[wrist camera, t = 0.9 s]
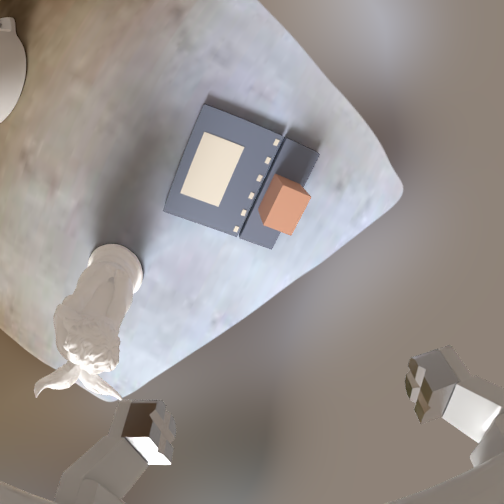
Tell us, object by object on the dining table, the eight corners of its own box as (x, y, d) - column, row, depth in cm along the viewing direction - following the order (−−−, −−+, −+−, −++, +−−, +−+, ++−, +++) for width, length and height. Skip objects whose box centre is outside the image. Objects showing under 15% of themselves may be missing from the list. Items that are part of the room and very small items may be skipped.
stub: (239, 234, 42) (242, 257, 37) (284, 136, 36) (296, 144, 31) (270, 245, 43) (278, 269, 38) (317, 152, 38) (333, 163, 32)
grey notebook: (164, 207, 39) (162, 211, 38) (204, 103, 34) (203, 104, 33) (236, 233, 42) (236, 237, 41) (281, 135, 36) (283, 136, 35)
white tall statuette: (132, 229, 40) (79, 345, 21) (173, 299, 46) (160, 426, 27) (67, 261, 41) (1, 370, 22) (110, 322, 47) (77, 437, 28)
